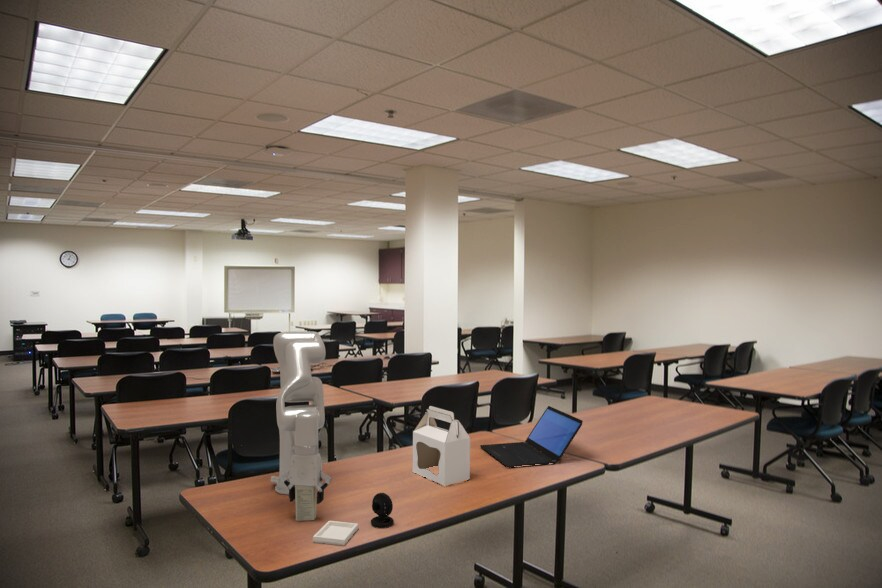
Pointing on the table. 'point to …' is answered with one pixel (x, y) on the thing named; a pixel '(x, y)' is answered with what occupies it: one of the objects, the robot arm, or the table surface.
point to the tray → (335, 533)
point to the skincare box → (305, 502)
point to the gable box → (441, 448)
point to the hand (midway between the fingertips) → (306, 501)
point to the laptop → (539, 441)
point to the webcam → (382, 510)
